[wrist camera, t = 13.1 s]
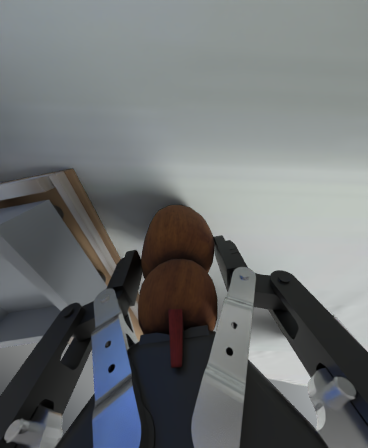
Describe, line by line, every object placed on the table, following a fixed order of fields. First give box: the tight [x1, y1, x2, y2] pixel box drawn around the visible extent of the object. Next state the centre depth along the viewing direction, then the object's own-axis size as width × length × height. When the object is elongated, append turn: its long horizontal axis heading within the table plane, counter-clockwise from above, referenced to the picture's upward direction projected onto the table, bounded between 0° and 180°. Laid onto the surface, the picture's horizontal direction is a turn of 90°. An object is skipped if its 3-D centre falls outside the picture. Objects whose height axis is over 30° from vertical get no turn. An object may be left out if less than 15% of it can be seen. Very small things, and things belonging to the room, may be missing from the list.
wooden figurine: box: [138, 205, 217, 368], centre depth 11 cm, size 7×6×15 cm
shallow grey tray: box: [0, 200, 107, 348], centre depth 14 cm, size 12×12×6 cm
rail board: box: [0, 169, 144, 345], centre depth 20 cm, size 14×31×3 cm, turn 10°
